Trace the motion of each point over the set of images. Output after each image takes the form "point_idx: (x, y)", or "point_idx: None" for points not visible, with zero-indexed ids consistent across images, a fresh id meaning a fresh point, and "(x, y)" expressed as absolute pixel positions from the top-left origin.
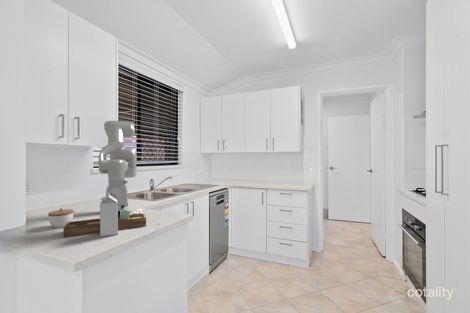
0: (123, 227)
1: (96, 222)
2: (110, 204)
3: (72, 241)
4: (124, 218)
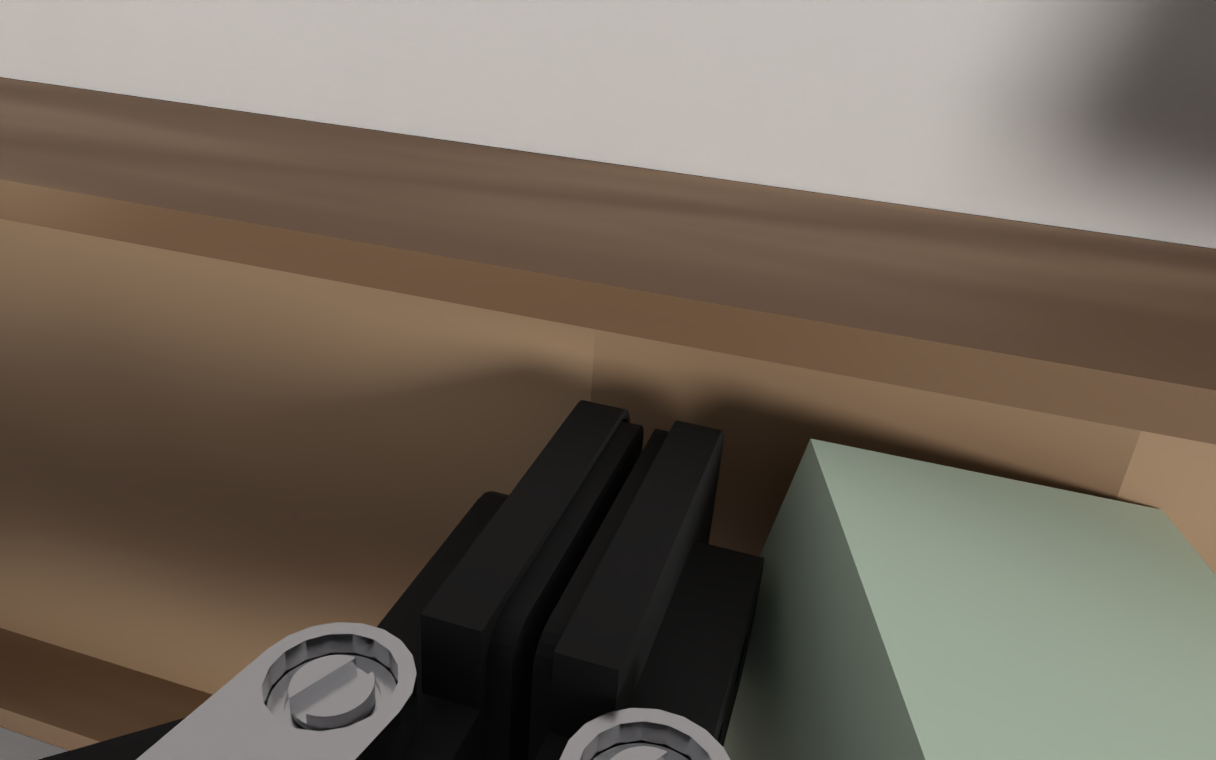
0: None
1: (37, 256)
2: None
3: (28, 746)
4: None
